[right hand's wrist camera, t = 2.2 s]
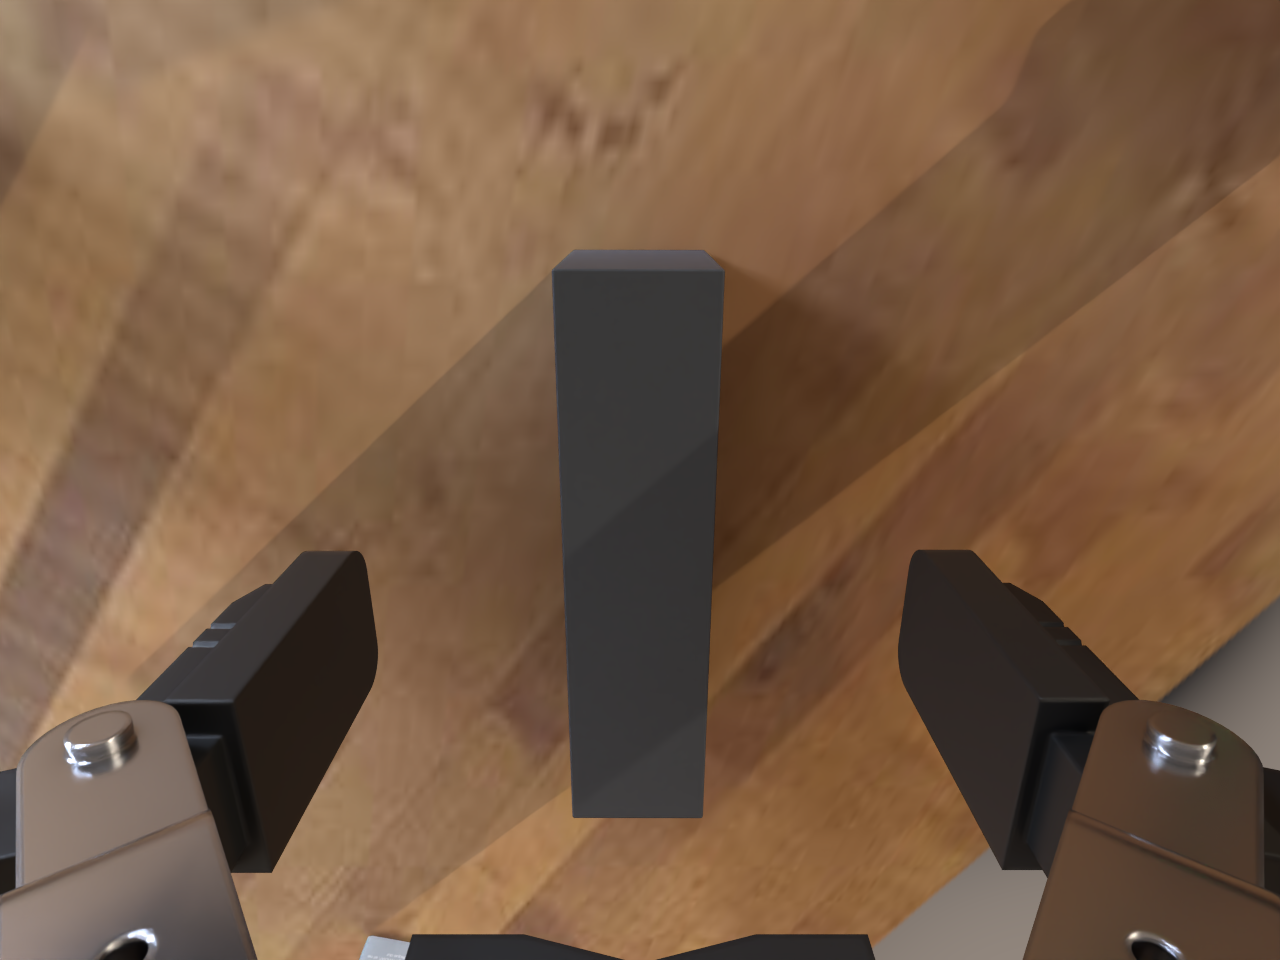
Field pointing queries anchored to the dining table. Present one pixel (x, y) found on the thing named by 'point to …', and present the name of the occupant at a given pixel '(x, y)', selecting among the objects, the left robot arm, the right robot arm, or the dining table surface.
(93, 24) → the dining table surface
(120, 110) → the dining table surface
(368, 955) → the hard drive box
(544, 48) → the dining table surface
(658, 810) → the bar
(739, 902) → the dining table surface
